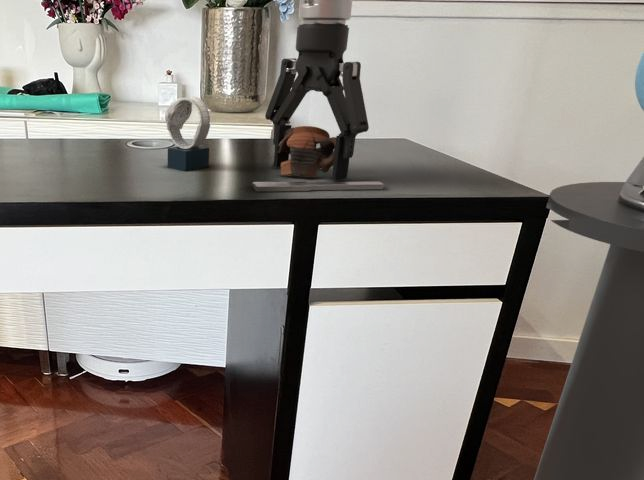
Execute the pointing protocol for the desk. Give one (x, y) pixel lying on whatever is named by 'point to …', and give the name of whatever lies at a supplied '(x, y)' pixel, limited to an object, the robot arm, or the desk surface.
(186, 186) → the desk surface
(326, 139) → the pottery mug
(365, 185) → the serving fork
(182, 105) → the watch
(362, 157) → the desk surface
